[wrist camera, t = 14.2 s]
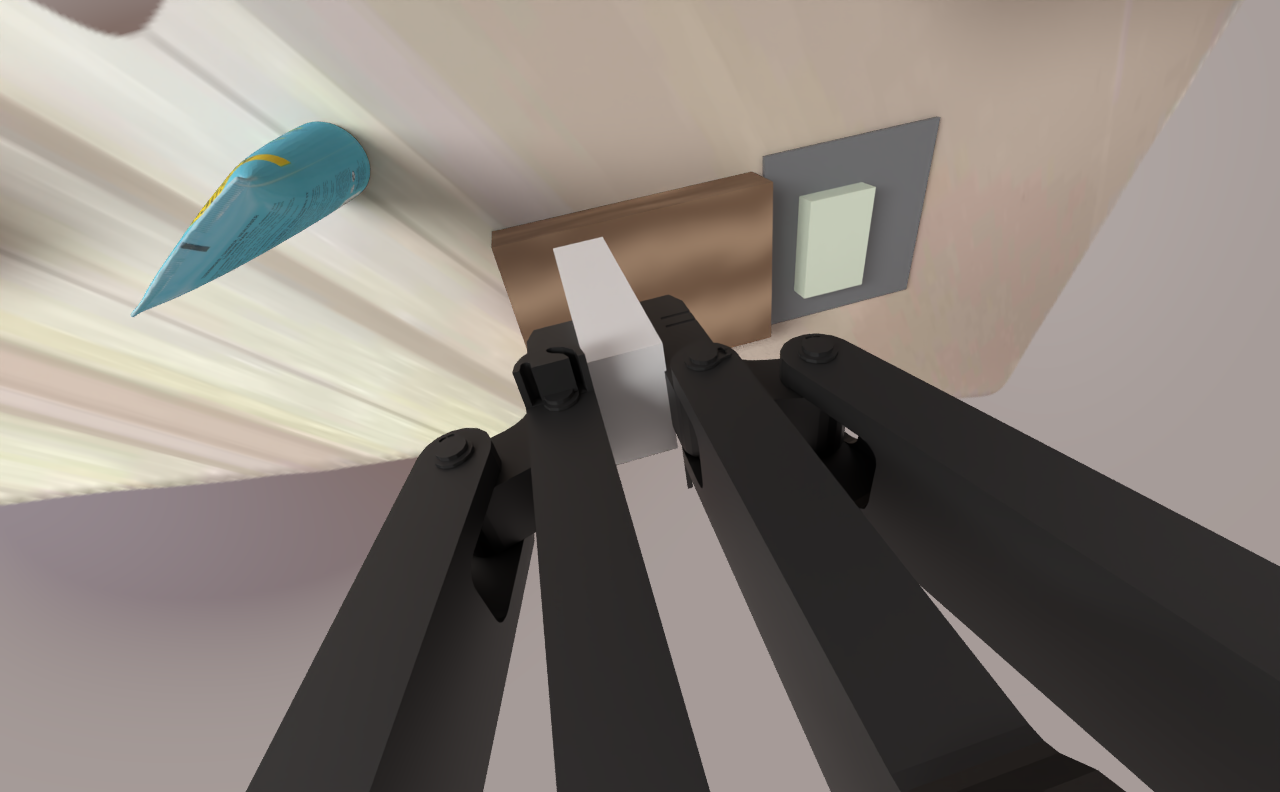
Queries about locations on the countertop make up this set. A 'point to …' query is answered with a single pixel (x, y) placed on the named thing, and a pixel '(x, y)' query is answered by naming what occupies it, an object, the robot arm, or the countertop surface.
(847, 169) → the mat
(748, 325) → the board
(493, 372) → the countertop surface
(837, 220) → the pale green block
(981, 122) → the countertop surface
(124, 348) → the countertop surface
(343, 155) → the tube
